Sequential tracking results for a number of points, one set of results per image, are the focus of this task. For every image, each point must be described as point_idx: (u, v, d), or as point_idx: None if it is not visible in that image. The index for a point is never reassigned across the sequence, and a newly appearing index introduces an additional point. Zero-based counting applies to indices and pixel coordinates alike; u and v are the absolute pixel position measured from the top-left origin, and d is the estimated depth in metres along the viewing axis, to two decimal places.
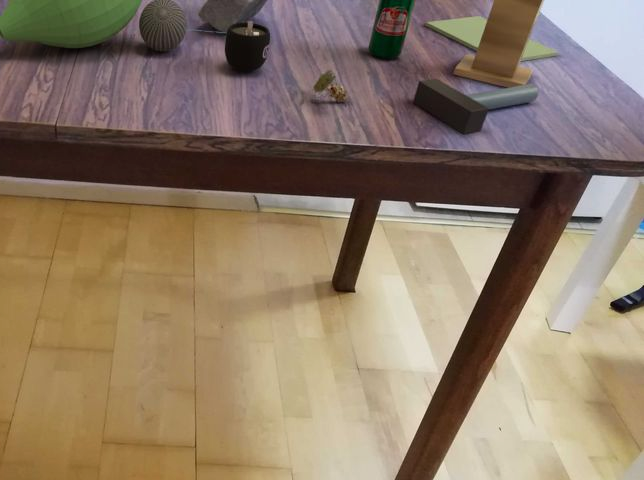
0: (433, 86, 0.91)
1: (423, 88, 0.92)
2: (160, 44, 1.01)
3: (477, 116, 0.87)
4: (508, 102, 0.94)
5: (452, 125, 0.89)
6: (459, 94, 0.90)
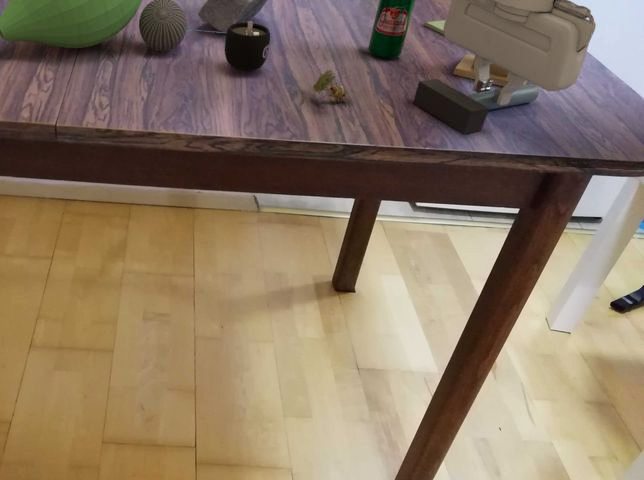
0: (433, 86, 0.91)
1: (423, 88, 0.92)
2: (160, 44, 1.01)
3: (477, 116, 0.87)
4: None
5: (452, 125, 0.89)
6: (459, 94, 0.90)
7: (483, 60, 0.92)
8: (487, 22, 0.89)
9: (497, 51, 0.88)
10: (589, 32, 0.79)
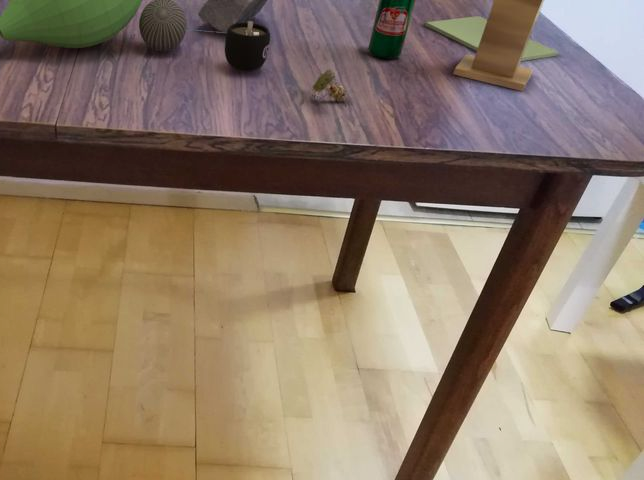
0: None
1: None
2: (160, 44, 1.01)
3: None
4: None
5: None
6: None
7: None
8: None
9: None
10: None
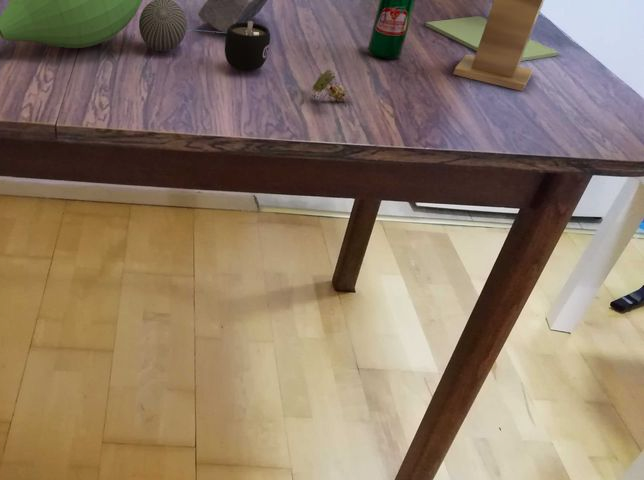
0: None
1: None
2: (160, 44, 1.01)
3: None
4: None
5: None
6: None
7: None
8: None
9: None
10: None
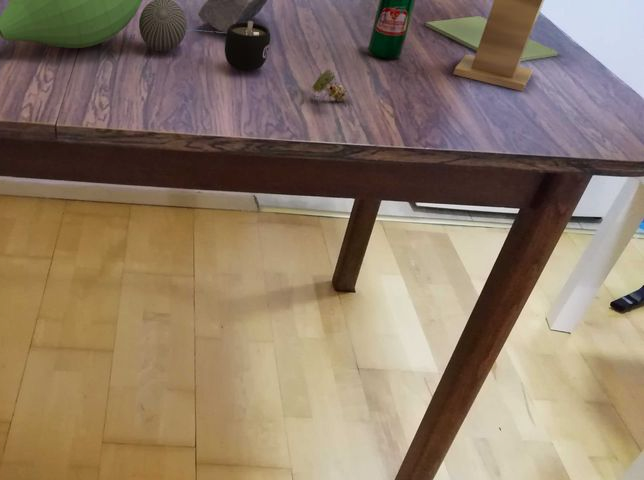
0: None
1: None
2: (160, 44, 1.01)
3: None
4: None
5: None
6: None
7: None
8: None
9: None
10: None
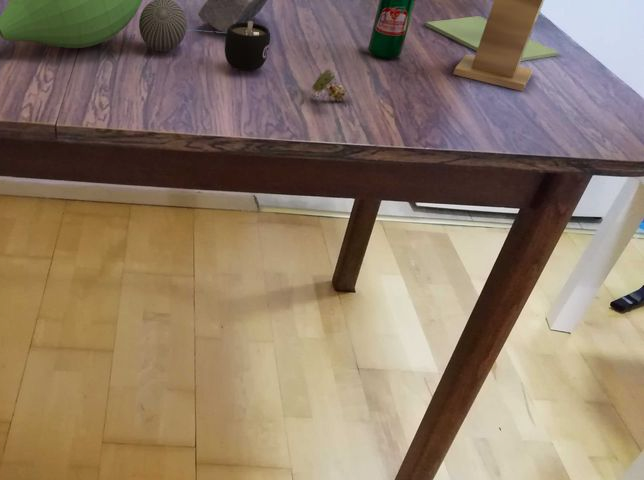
0: None
1: None
2: (160, 44, 1.01)
3: None
4: None
5: None
6: None
7: None
8: None
9: None
10: None
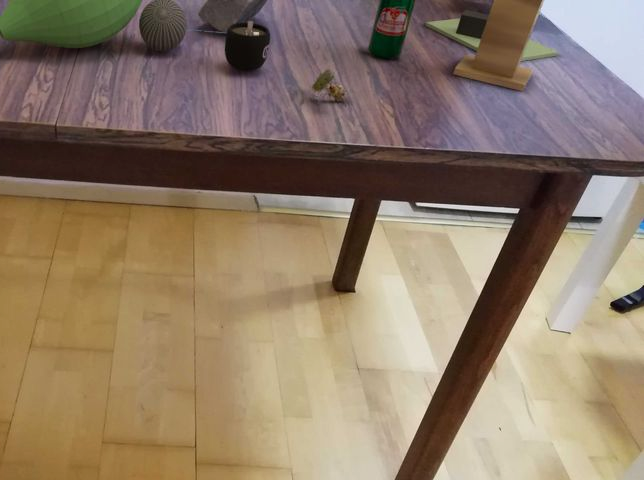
0: (476, 16, 1.13)
1: (467, 19, 1.13)
2: (160, 44, 1.01)
3: None
4: None
5: None
6: None
7: None
8: None
9: None
10: None
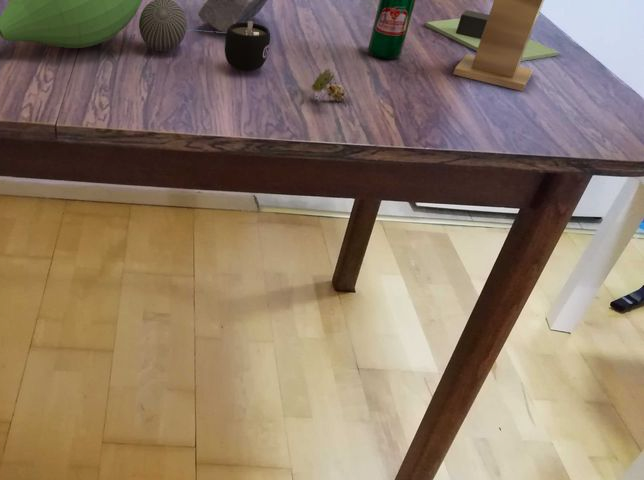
0: (476, 16, 1.13)
1: (467, 19, 1.13)
2: (160, 44, 1.01)
3: None
4: None
5: None
6: None
7: None
8: None
9: None
10: None
